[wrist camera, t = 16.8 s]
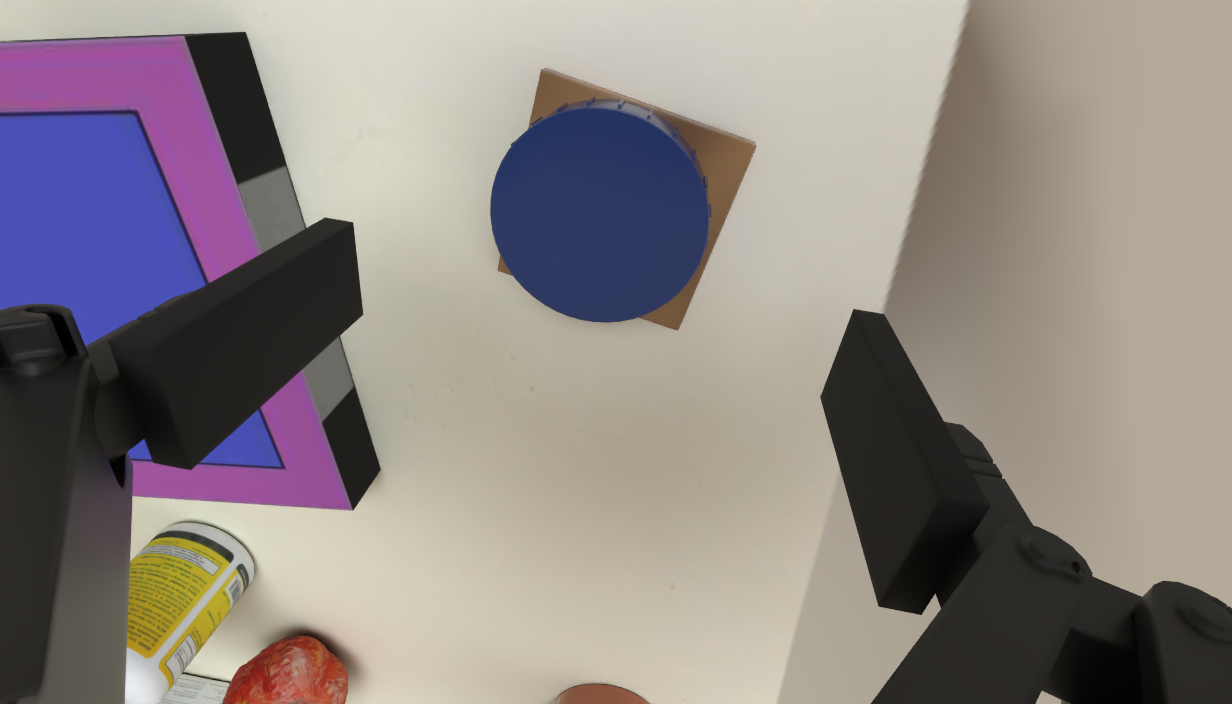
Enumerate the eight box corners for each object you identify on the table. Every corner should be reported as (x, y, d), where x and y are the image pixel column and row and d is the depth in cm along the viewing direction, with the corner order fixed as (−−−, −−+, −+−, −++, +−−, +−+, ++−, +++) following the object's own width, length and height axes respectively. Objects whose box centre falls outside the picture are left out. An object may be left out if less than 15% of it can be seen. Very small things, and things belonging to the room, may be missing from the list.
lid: (485, 265, 25) (470, 284, 23) (529, 63, 21) (515, 68, 19) (666, 327, 25) (664, 350, 24) (744, 142, 21) (748, 154, 19)
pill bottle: (143, 525, 37) (-45, 703, 28) (218, 510, 36) (45, 694, 26) (205, 590, 40) (54, 772, 31) (277, 579, 38) (141, 767, 29)
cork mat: (755, 142, 22) (756, 145, 21) (678, 324, 26) (678, 331, 25) (545, 67, 21) (541, 68, 21) (501, 265, 25) (496, 270, 25)
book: (353, 510, 30) (-150, 477, 33) (380, 470, 32) (-90, 443, 36) (184, 36, 19) (-528, 62, 23) (245, 32, 22) (-404, 56, 25)
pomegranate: (344, 661, 47) (388, 729, 39) (249, 738, 43) (277, 832, 35) (295, 591, 44) (331, 650, 37) (188, 667, 40) (204, 751, 33)
